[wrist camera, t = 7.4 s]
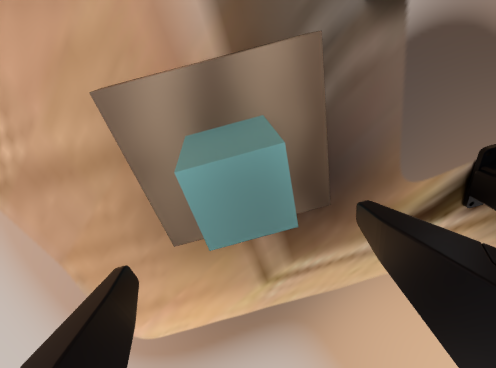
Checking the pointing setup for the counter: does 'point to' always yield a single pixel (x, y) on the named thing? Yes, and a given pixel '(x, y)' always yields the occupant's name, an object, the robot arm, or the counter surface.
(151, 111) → the walnut base
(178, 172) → the teal block
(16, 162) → the counter surface
